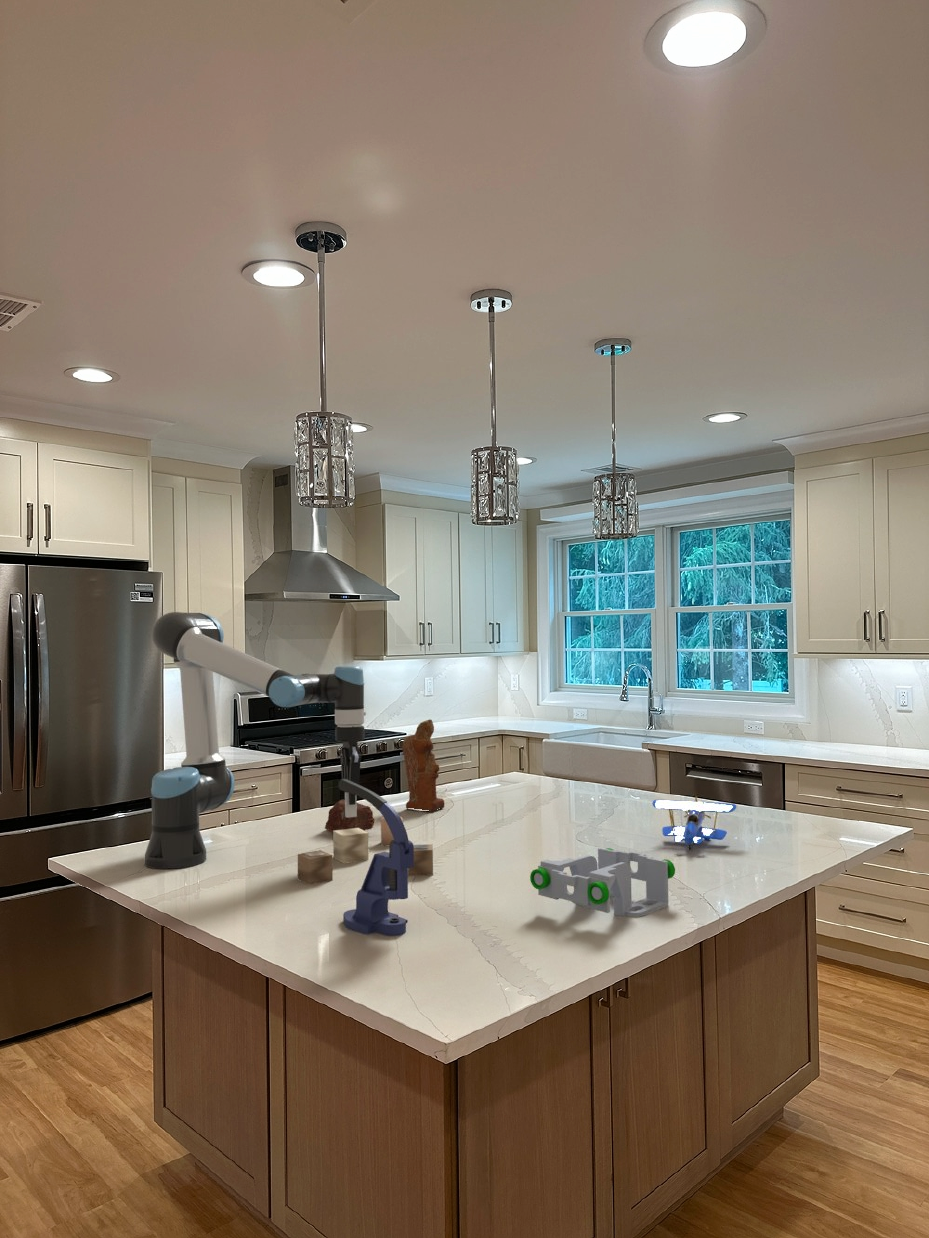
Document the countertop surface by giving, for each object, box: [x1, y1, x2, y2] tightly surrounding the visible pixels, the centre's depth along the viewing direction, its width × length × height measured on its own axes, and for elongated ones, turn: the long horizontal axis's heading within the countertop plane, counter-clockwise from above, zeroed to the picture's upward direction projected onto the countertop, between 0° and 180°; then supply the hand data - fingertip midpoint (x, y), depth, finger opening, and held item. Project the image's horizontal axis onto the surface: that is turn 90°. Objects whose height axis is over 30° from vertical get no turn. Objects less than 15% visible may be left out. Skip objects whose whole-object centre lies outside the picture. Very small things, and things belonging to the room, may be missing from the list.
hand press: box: [338, 778, 414, 937], centre depth 171 cm, size 19×9×28 cm, turn 50°
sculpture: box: [401, 719, 445, 812], centre depth 289 cm, size 13×9×30 cm
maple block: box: [332, 828, 369, 864], centre depth 224 cm, size 7×7×7 cm
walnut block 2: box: [408, 843, 434, 877], centre depth 210 cm, size 6×6×6 cm
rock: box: [324, 798, 376, 833], centre depth 254 cm, size 18×6×9 cm, turn 49°
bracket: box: [529, 847, 676, 918], centre depth 180 cm, size 19×25×10 cm
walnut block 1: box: [297, 850, 334, 886], centre depth 204 cm, size 6×6×6 cm
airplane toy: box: [652, 796, 738, 851], centre depth 236 cm, size 25×22×13 cm
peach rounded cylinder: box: [380, 816, 404, 846], centre depth 241 cm, size 6×6×7 cm
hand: (351, 816), depth 224 cm, fingers closed
